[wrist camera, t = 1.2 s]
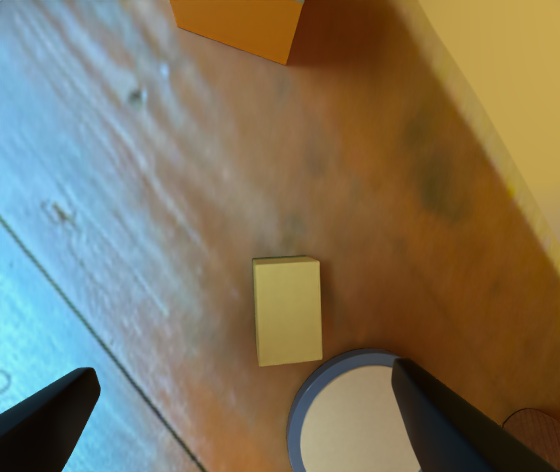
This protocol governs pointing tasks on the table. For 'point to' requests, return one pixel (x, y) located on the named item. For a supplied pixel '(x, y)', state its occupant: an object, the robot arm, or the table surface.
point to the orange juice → (243, 23)
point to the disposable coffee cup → (537, 433)
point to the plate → (349, 418)
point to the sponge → (287, 309)
